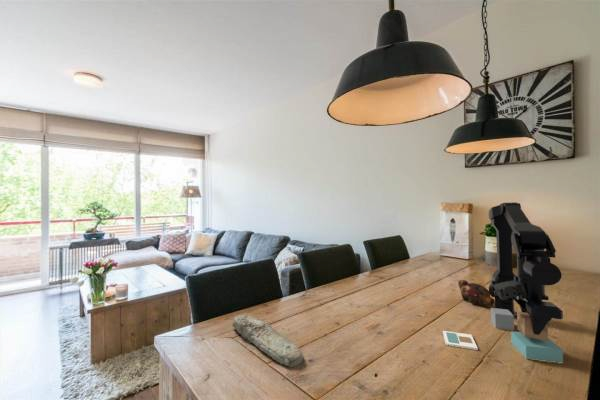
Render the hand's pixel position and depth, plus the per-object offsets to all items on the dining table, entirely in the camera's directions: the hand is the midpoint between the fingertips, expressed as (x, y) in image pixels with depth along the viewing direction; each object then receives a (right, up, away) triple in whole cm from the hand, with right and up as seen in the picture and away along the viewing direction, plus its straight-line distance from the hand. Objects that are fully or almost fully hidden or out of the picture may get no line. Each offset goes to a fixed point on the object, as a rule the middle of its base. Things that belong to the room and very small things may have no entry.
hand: (532, 329), depth 74 cm
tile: (-16, -7, +7) cm, 19 cm away
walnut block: (0, -1, 0) cm, 1 cm away
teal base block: (0, -7, -1) cm, 7 cm away
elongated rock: (-77, -9, +10) cm, 78 cm away
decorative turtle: (+8, -6, +35) cm, 37 cm away
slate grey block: (+3, -6, +15) cm, 17 cm away
